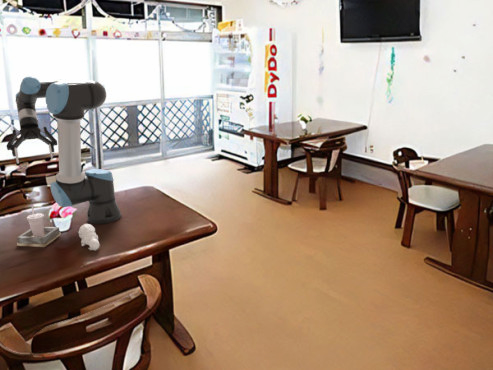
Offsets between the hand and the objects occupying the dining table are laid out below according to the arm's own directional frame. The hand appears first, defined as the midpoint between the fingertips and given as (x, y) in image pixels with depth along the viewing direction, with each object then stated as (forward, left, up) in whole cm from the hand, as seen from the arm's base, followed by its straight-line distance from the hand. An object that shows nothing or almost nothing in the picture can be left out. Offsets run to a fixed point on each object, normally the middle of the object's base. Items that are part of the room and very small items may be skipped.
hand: (35, 159), depth 185 cm
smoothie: (-9, +18, -29) cm, 35 cm away
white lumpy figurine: (-34, +22, -30) cm, 50 cm away
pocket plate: (-9, +18, -30) cm, 36 cm away
